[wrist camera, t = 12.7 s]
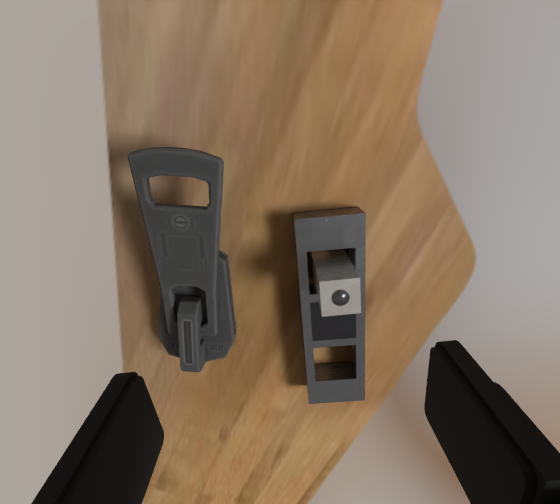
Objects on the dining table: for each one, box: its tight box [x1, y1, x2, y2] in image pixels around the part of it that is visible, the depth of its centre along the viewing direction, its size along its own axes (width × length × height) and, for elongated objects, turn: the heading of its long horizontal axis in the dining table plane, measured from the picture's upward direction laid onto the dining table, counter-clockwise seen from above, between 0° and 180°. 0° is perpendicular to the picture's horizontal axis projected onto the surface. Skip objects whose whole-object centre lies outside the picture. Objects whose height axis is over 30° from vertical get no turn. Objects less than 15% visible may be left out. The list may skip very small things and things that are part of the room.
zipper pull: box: [128, 147, 236, 372], centre depth 32 cm, size 9×7×25 cm
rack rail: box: [293, 207, 366, 404], centre depth 35 cm, size 24×7×3 cm, turn 5°
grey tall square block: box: [311, 249, 361, 317], centre depth 31 cm, size 4×4×8 cm
